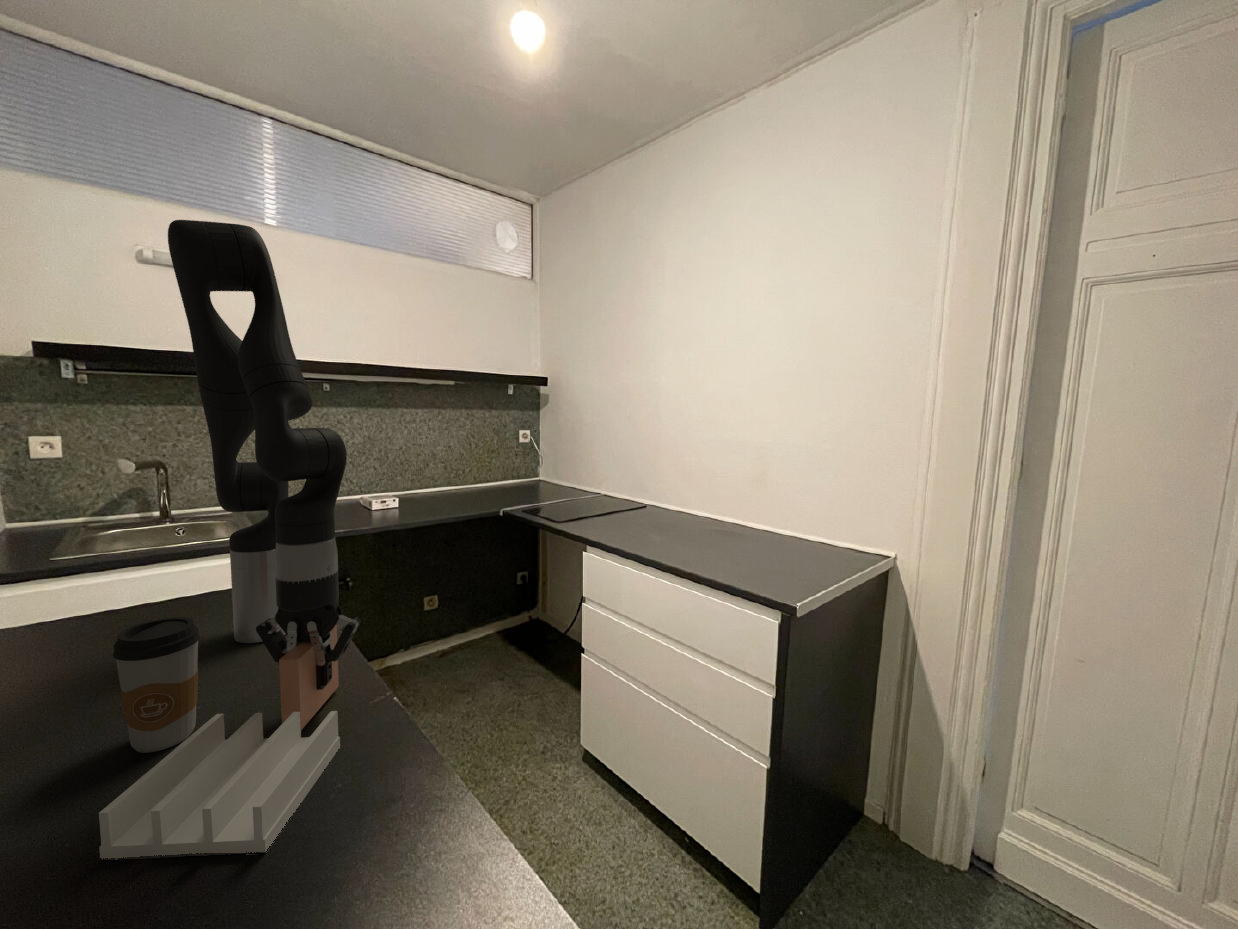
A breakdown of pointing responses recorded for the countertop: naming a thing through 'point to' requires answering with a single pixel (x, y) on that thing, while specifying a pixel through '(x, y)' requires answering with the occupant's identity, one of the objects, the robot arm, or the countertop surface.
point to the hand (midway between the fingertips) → (311, 686)
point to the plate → (304, 682)
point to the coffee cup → (158, 681)
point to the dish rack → (219, 791)
